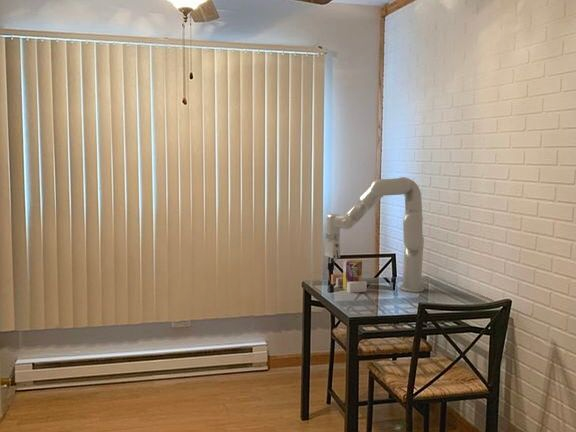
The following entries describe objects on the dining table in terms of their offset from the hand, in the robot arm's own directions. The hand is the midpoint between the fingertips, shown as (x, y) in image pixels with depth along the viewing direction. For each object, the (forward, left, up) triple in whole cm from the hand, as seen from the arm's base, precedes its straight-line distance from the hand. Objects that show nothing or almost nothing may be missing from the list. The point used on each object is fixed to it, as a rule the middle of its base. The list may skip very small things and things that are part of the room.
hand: (330, 269), depth 332 cm
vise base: (0, +17, -7) cm, 19 cm away
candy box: (-1, +22, -6) cm, 23 cm away
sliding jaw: (0, +12, -6) cm, 13 cm away
